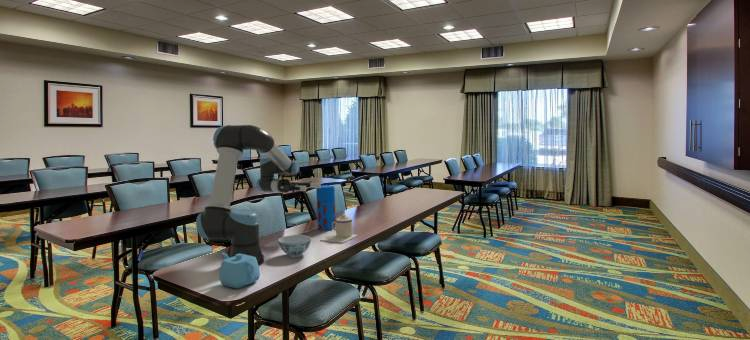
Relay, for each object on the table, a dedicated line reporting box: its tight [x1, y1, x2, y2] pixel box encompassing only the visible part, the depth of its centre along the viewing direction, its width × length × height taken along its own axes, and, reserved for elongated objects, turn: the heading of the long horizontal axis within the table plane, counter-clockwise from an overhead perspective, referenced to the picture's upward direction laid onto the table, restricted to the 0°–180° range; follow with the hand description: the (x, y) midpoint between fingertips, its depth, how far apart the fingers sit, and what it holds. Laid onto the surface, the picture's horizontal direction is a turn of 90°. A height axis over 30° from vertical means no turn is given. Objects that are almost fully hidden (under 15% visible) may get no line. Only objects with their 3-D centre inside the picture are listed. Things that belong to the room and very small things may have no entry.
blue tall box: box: [315, 184, 337, 231], centre depth 244 cm, size 11×11×25 cm
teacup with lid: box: [332, 214, 353, 238], centre depth 224 cm, size 12×9×12 cm
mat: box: [319, 232, 359, 244], centre depth 221 cm, size 16×14×1 cm
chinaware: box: [277, 234, 312, 258], centre depth 191 cm, size 15×15×8 cm
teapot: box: [219, 252, 261, 289], centre depth 157 cm, size 12×18×12 cm
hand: (313, 187), depth 219 cm, fingers open, 13 cm apart
